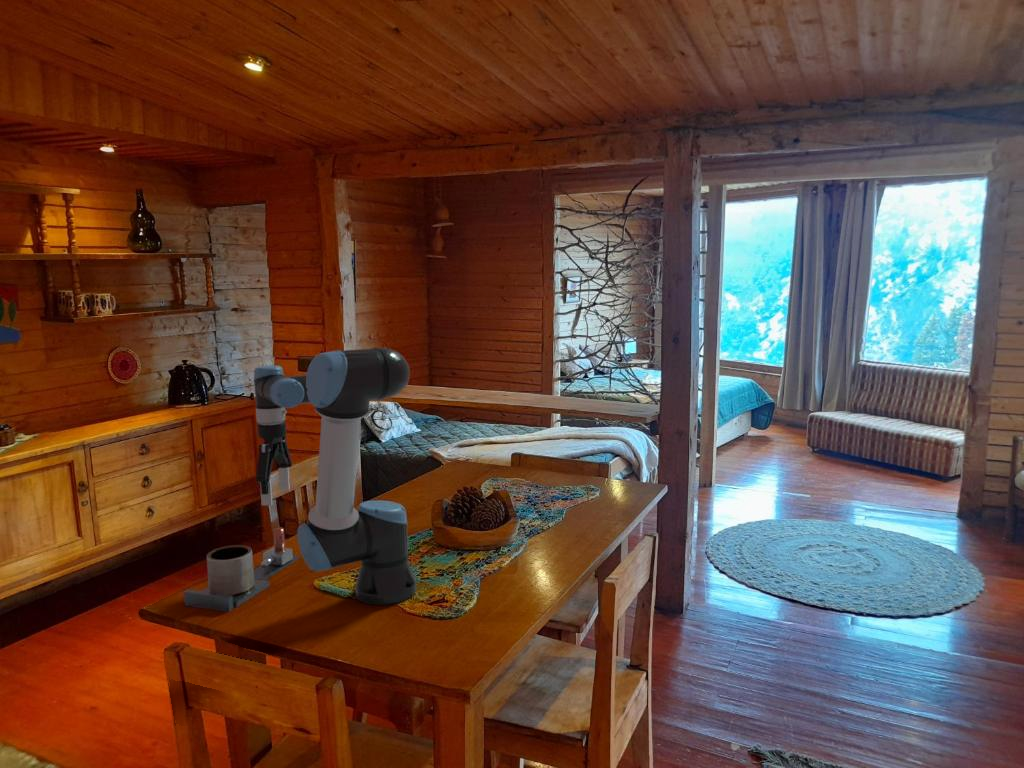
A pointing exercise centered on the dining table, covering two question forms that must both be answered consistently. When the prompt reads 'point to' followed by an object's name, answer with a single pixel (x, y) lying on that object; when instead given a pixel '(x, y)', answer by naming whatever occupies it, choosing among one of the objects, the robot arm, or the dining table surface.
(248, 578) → the planter
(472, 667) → the dining table surface
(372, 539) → the robot arm
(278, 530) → the pink cylinder stand
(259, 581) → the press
